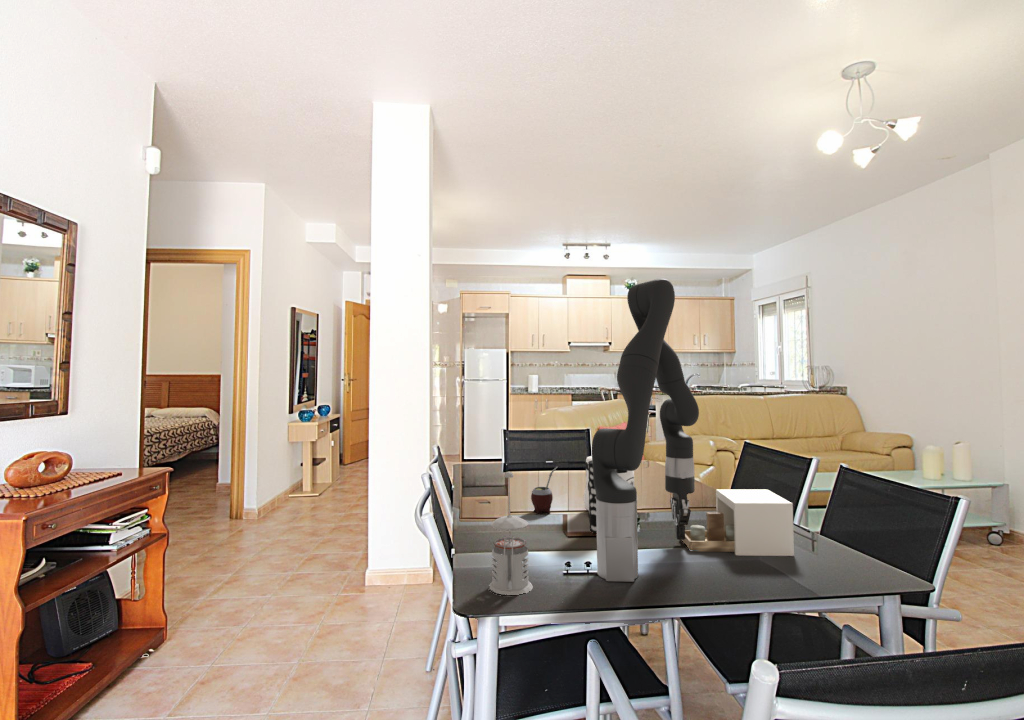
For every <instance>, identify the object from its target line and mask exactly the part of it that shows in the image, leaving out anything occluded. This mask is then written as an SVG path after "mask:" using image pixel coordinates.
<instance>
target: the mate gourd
mask: <svg viewBox="0 0 1024 720" xmlns="http://www.w3.org/2000/svg"><path fill="white" fill-rule="evenodd" d="M558 468H559V467H558V466H555V467H554V469H552V470H551V471H550V473H549V475H548V479H547V483H546V486H536V487H533V489H532V490H531V495H530V499H531V503H532V505H533V507H534V510H533V513H534V512H535V514H536V515H537V516H539V515H541V514H545V515H546V514H547V515H551V507H552V503H553V499H554V497H553V492H552V489H551V488H549V484H550V480H551V478H552V476H553V473H554V472H555V471H556V469H558Z"/></svg>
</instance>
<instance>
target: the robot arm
mask: <svg viewBox="0 0 1024 720" xmlns="http://www.w3.org/2000/svg"><path fill="white" fill-rule="evenodd" d="M675 297H676V295H675V288H674V286H673V284H672V282H671V281H670V280H669V279H666V278H657V279H652V280H648V281H645V282H641V283H637V284H634V285H632V286H631V287H630V288H629V290H628V292H627V298H626V299H627V305H628V309H629V311H630V314H631V316H632V319H633V321H634V323H635V325H636V328H637V332H636V334H635V335H634V336H633V337H632V339H631V340H630V341H629V342H628V343H627V345H626V346H625V348H624V349H623V351H622V353H621V356H620V360H619V364H618V367H617V368H618V369H617V373H616V381H617V385H618V388H619V391H620V393H621V396H622V398H623V400H624V401H625V404H626V408H627V412H628V413H627V423H626V426H625V428H624V429H622V428H621V429H620V428H600V429H598V430H597V431H596V432H595V433H594V435H593V436H592V437H593V438H592V443H591V456H592V464H593V480H594V487H595V491H596V523H597V534H596V564H597V565H596V566H597V571H596V572H597V575H598V576H599V577H600V578H602V579H604V580H605V581H606V582H635V579H637V578H638V577H639V554H638V553H639V551H638V550H639V549H638V545H639V544H638V543H639V542H638V493H637V488H636V486H635V485H634V486H635V487H634V486H633V485H632V484H630V483H628V482H626V481H625V480H623V479H622V478H621V477H620V476H619V475H618V474H617V472H616V470H626V471H634V472H635V471H636V470H637V469H638V468H639V467H640V466H641V463H642V460H643V456H644V452H645V443H646V437H647V427H648V420H649V419H648V418H649V413H650V411H649V410H650V405H651V401H652V395H653V392H654V391H653V390H654V387H655V384H656V383H655V382H657V386H658V389H659V391H660V392H661V393H662V394H664V395H667V396H668V397H669V398H668V399H666V400H664V401H662V403H661V406H660V409H659V420H660V425H661V428H662V433H663V436H664V440H665V461H664V476H665V477H664V483H665V484H664V485H665V491H666V492H667V493H671V494H672V497H670V499H669V503H670V508H671V509H670V510H671V514H672V520H673V522H674V525H675V532H674V533H675V534H674V535H675V538H676V539H677V540H679V541H681V540H684V539H685V530H686V527H687V526H688V525H689V521H690V517H691V514H692V513H691V512H692V510H691V509H690V508H689V507H690V501H689V499H688V495H689V494H691V495H692V494H693V493H695V489H696V488H695V484H696V483H695V462H694V461H695V460H694V440H693V438H692V436H690V435H689V434H687V433H685V431H684V429H683V427H691V426H693V425H695V424H696V423H697V421H698V420H699V415H700V409H699V404H698V402H697V400H696V398H695V397H694V394H693V393H692V390H691V389H690V387H689V386H688V384H687V382H686V380H685V377H684V373H683V368H682V364H681V361H680V359H679V356H678V355H677V353H676V352H675V350H674V349H673V348H672V347H671V346H670V344H669V343H667V341H666V340H665V335H666V333H667V329H668V325H669V323H670V321H671V317H672V313H673V310H674V306H675V301H676V300H675V299H676V298H675Z"/></svg>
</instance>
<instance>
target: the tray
mask: <svg viewBox="0 0 1024 720" xmlns="http://www.w3.org/2000/svg"><path fill="white" fill-rule="evenodd" d="M683 542H684V543H685V544H686V545H687V547H688V548H689V549H690V550H699V551H698V552H715V553H716V552H717V553H718V552H720V553H721V552H722V553H723V552H726V553H727V552H729V553H730V552H732V553H733V552H734V553H735V539H734V525H728V526H726V530H724V514H723V513H722V512H716V511H714V512H711V511H710V512H709V511H708V512H707V511H706V527H705V526H703V525H699V524H692V525H690V528H689V529H687V530H686V529H685V539H684V540H683ZM683 542H682V543H683ZM684 543H683V544H684ZM687 547H686V548H687ZM688 548H687V549H688Z"/></svg>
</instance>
